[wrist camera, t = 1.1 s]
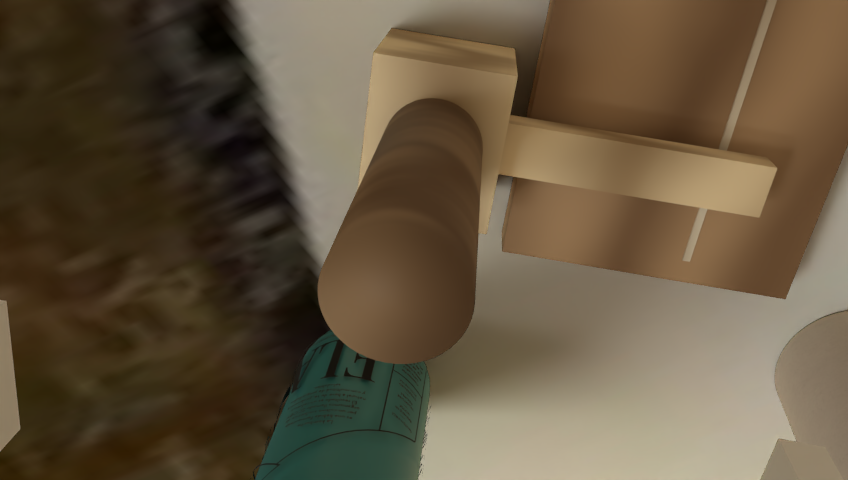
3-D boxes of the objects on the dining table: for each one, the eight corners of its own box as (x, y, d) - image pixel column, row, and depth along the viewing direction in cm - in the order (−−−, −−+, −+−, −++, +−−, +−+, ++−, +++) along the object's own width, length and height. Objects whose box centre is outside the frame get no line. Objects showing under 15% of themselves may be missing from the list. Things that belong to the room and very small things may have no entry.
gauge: (374, 167, 33) (279, 385, 19) (391, 28, 31) (297, 155, 16) (716, 225, 33) (888, 490, 18) (762, 89, 30) (1005, 274, 16)
